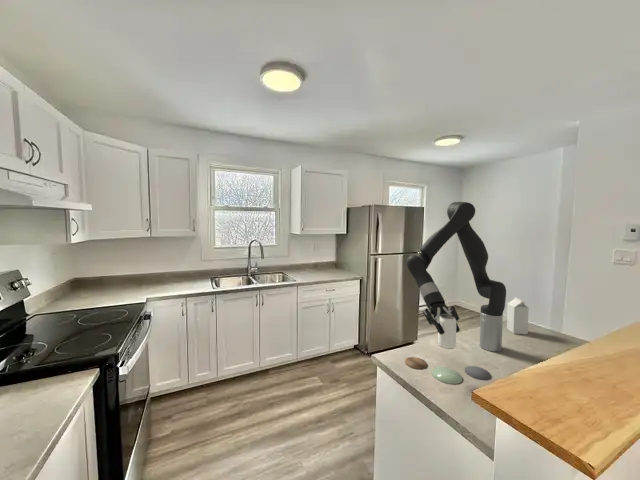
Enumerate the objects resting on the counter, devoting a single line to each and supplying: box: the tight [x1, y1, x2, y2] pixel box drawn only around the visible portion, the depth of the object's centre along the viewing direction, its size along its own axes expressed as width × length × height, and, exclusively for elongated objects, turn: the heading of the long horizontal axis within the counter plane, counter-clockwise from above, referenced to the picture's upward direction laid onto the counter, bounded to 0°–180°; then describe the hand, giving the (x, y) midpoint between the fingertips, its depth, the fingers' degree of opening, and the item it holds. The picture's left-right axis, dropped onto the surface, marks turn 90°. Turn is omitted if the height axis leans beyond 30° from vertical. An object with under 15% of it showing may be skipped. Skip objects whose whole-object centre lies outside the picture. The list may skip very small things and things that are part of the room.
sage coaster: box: [431, 366, 463, 385], centre depth 108 cm, size 11×11×1 cm
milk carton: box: [506, 296, 529, 335], centre depth 151 cm, size 7×7×19 cm
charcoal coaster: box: [464, 365, 491, 381], centre depth 110 cm, size 9×9×1 cm
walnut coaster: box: [404, 356, 428, 370], centre depth 118 cm, size 9×9×1 cm
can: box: [437, 314, 457, 350], centre depth 107 cm, size 6×6×12 cm
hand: (450, 332), depth 106 cm, fingers closed on can, 6 cm apart
